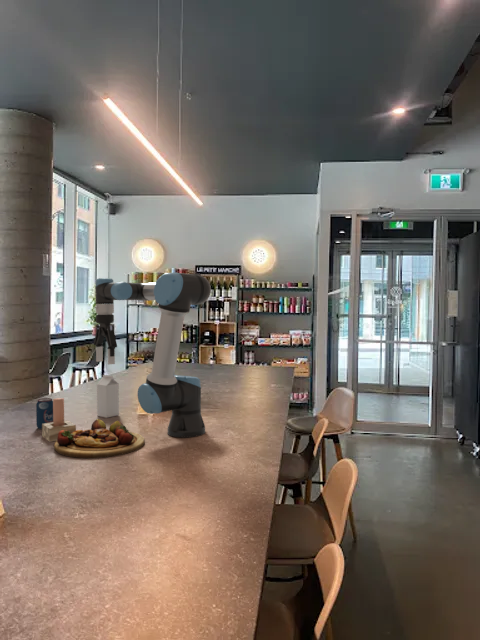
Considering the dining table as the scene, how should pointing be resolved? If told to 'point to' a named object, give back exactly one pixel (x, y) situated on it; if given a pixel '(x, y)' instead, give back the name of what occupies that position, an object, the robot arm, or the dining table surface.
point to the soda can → (44, 412)
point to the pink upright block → (58, 412)
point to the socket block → (56, 430)
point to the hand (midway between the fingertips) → (105, 362)
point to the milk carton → (107, 397)
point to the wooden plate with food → (98, 441)
